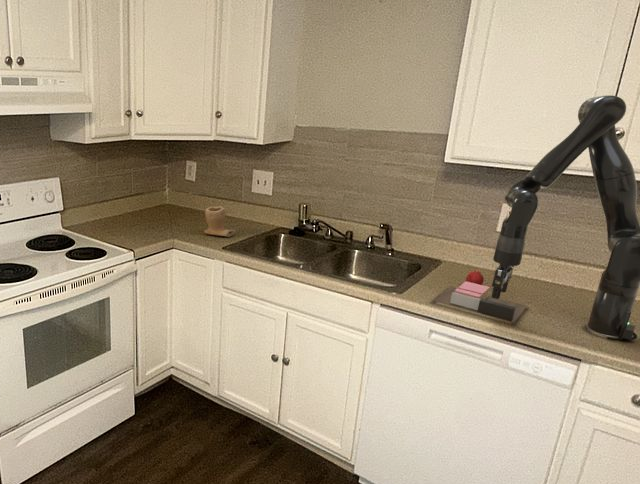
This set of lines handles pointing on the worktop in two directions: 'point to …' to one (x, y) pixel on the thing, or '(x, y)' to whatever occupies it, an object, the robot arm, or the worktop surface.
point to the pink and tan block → (468, 293)
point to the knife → (484, 306)
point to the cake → (475, 289)
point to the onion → (475, 277)
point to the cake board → (446, 299)
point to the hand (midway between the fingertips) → (498, 294)
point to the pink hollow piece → (217, 222)
